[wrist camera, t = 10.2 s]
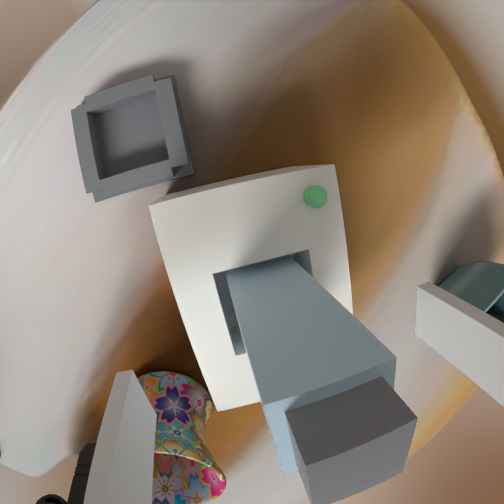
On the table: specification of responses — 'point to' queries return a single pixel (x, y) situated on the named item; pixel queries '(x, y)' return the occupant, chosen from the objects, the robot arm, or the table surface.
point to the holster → (131, 137)
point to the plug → (320, 381)
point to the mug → (181, 441)
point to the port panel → (246, 257)
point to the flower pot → (479, 286)
